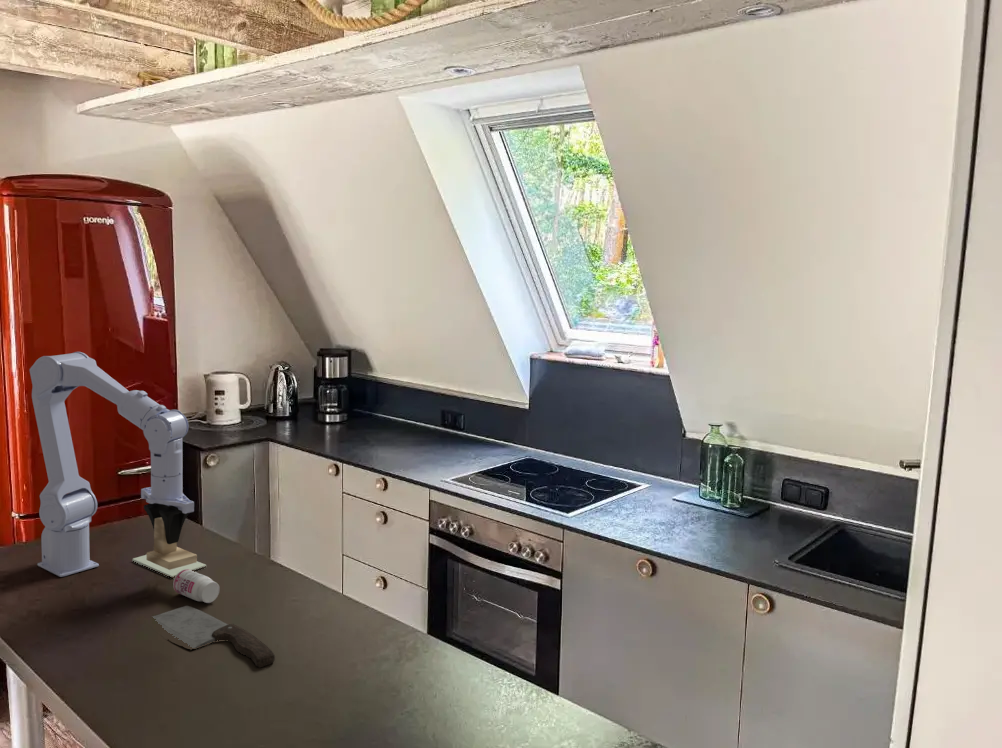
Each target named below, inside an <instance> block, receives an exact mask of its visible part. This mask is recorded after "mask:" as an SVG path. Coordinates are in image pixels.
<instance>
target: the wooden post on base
mask: <svg viewBox="0 0 1002 748" xmlns="http://www.w3.org/2000/svg"><path fill="white" fill-rule="evenodd" d="M177 544H178V542H176V543H172V544H167V541H166V535H165V527H164V523H163V520H162V517H160V518H155V522H154V529H153V550H151V551H147V552H146V555H147V558H146V560H148V561H150V562H152V563H155V564H157V565H159V566H162V567H164V568H166V569H169V570H171V569H174V568H178V567H182V566H185V565H189V564H192V563H196V562H197V561H198V554H196V553H193V552H191V551H189V550H187V549H183V548H181V547H178V545H177Z"/></svg>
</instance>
